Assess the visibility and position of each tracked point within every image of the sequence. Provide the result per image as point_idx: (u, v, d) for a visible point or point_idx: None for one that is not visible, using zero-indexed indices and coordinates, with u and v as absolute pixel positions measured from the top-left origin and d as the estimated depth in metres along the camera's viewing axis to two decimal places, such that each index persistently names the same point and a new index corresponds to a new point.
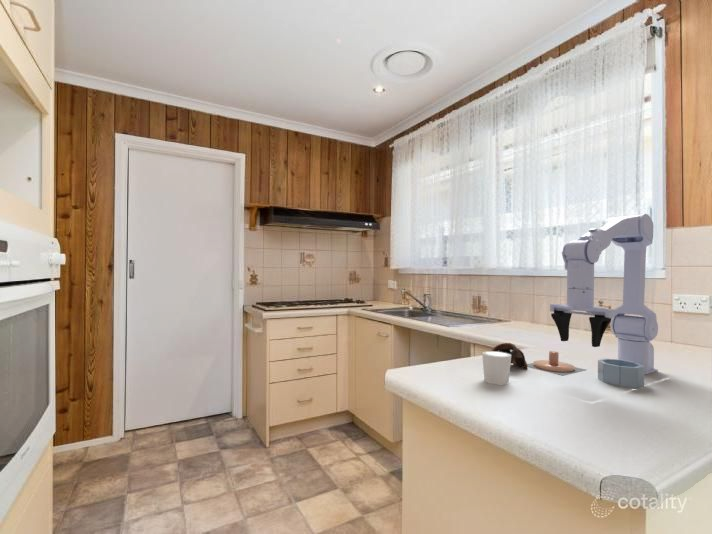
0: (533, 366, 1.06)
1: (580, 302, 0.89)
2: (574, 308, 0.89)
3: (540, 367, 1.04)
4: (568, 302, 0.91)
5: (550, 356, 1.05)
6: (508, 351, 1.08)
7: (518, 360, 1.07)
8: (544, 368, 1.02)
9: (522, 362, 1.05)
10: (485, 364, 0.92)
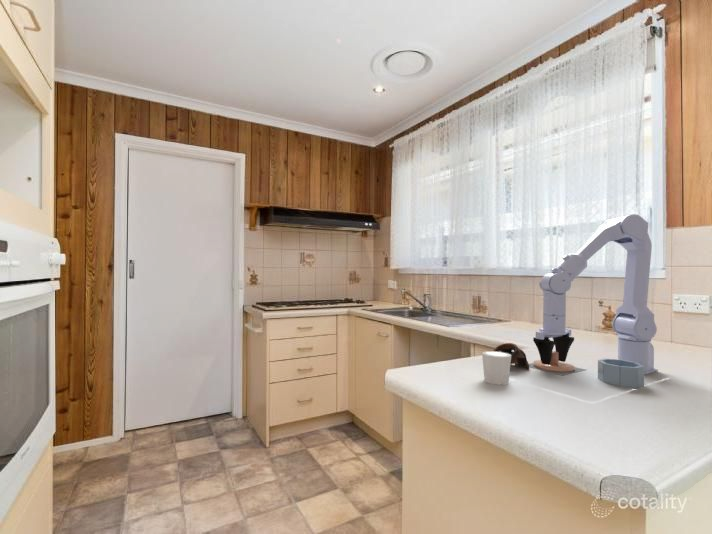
0: (533, 366, 1.06)
1: (543, 325, 1.07)
2: (539, 329, 1.08)
3: (540, 367, 1.04)
4: None
5: None
6: (510, 351, 1.08)
7: (520, 360, 1.06)
8: (544, 368, 1.02)
9: (524, 362, 1.05)
10: (485, 364, 0.92)
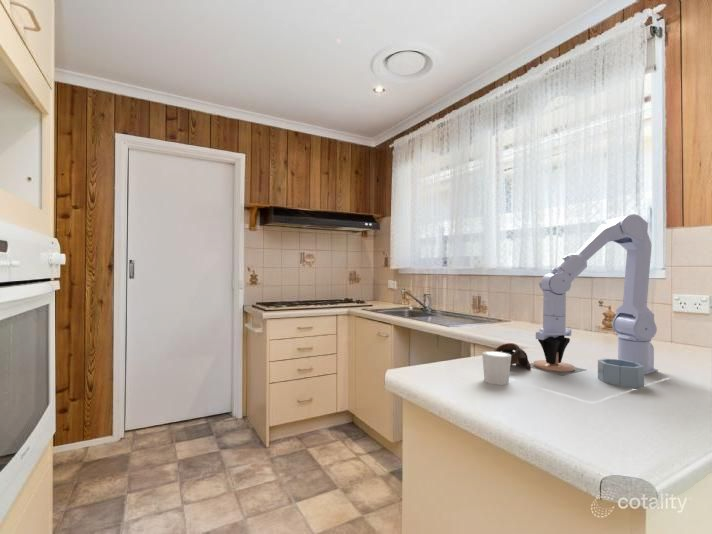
0: (533, 366, 1.06)
1: (543, 325, 1.07)
2: (539, 329, 1.08)
3: (540, 367, 1.04)
4: None
5: None
6: (511, 351, 1.08)
7: (521, 360, 1.06)
8: (544, 368, 1.02)
9: (525, 362, 1.05)
10: (485, 364, 0.92)
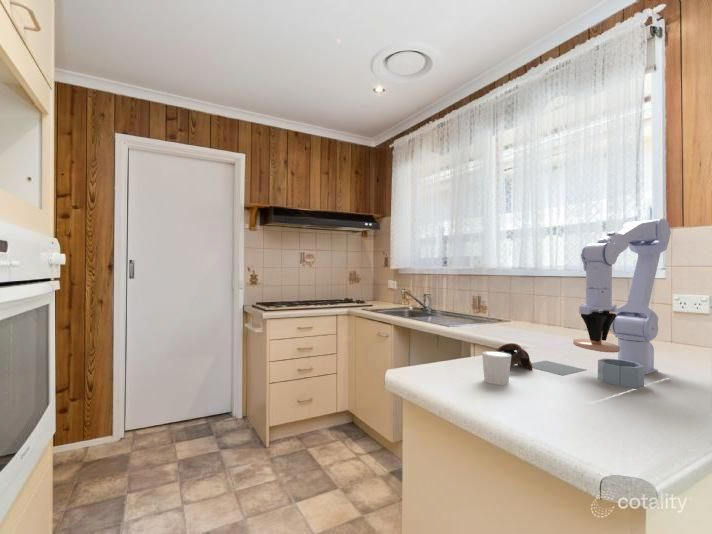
0: (533, 366, 1.06)
1: None
2: (581, 305, 1.00)
3: (583, 346, 0.95)
4: None
5: None
6: (512, 351, 1.07)
7: (522, 360, 1.06)
8: (587, 347, 0.94)
9: (527, 362, 1.05)
10: (485, 364, 0.92)
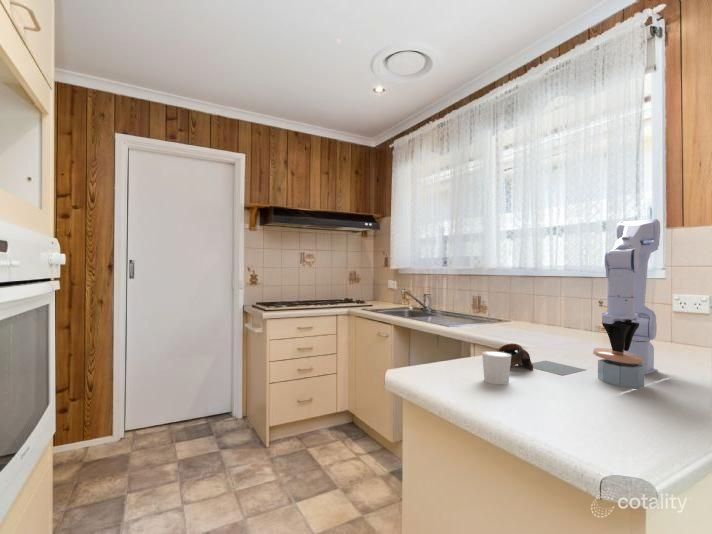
0: (533, 366, 1.06)
1: (607, 308, 0.94)
2: (602, 313, 0.96)
3: (605, 357, 0.91)
4: None
5: None
6: (513, 352, 1.07)
7: (523, 361, 1.06)
8: (610, 358, 0.90)
9: (527, 363, 1.05)
10: (485, 364, 0.92)
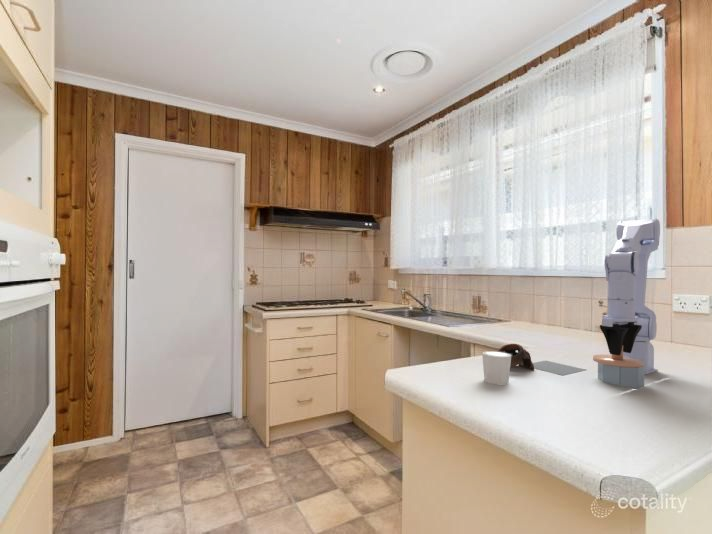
0: None
1: (607, 311, 0.94)
2: (602, 316, 0.96)
3: (604, 362, 0.91)
4: None
5: None
6: (514, 352, 1.07)
7: (524, 361, 1.06)
8: (610, 363, 0.90)
9: (528, 363, 1.05)
10: (485, 364, 0.92)
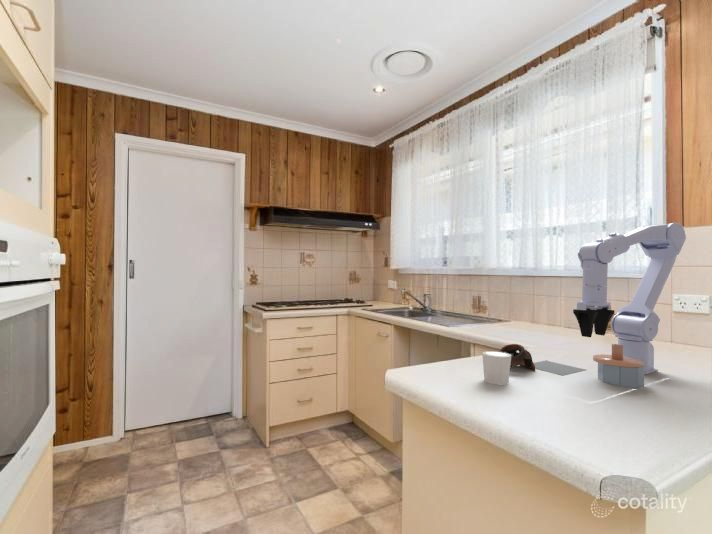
0: None
1: (582, 297, 1.02)
2: (578, 302, 1.04)
3: (604, 362, 0.91)
4: None
5: (614, 350, 0.93)
6: (515, 352, 1.07)
7: (525, 361, 1.05)
8: (610, 363, 0.90)
9: (529, 363, 1.04)
10: (485, 364, 0.92)
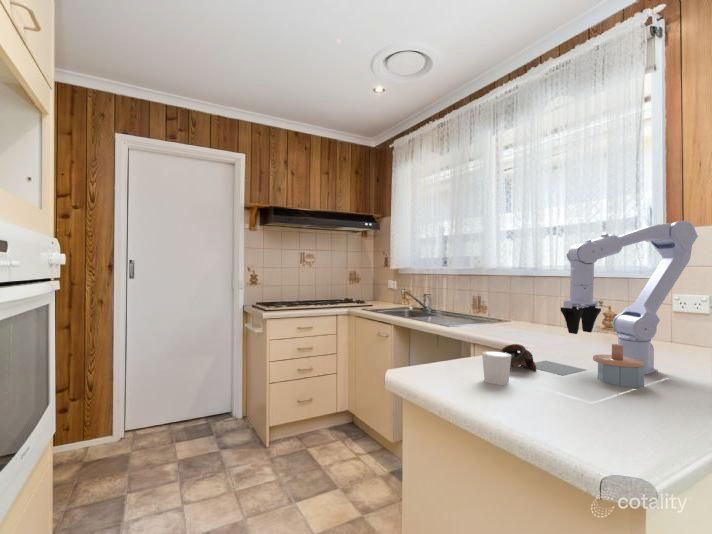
0: None
1: None
2: (566, 300, 1.09)
3: (604, 362, 0.91)
4: None
5: (614, 350, 0.93)
6: (515, 352, 1.06)
7: (526, 361, 1.05)
8: (610, 363, 0.90)
9: (530, 363, 1.04)
10: (485, 364, 0.92)
